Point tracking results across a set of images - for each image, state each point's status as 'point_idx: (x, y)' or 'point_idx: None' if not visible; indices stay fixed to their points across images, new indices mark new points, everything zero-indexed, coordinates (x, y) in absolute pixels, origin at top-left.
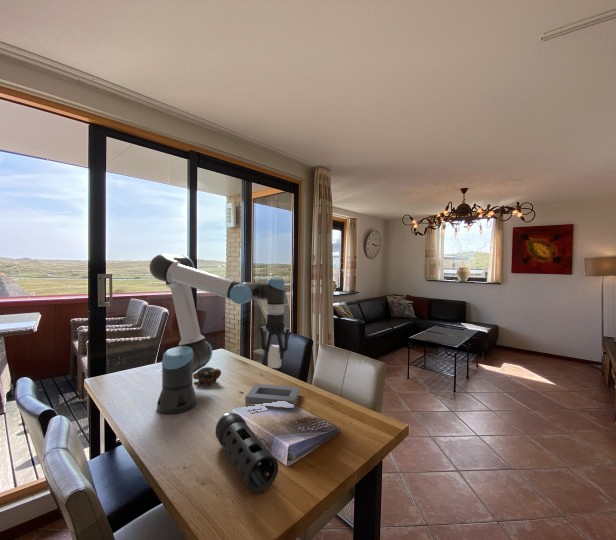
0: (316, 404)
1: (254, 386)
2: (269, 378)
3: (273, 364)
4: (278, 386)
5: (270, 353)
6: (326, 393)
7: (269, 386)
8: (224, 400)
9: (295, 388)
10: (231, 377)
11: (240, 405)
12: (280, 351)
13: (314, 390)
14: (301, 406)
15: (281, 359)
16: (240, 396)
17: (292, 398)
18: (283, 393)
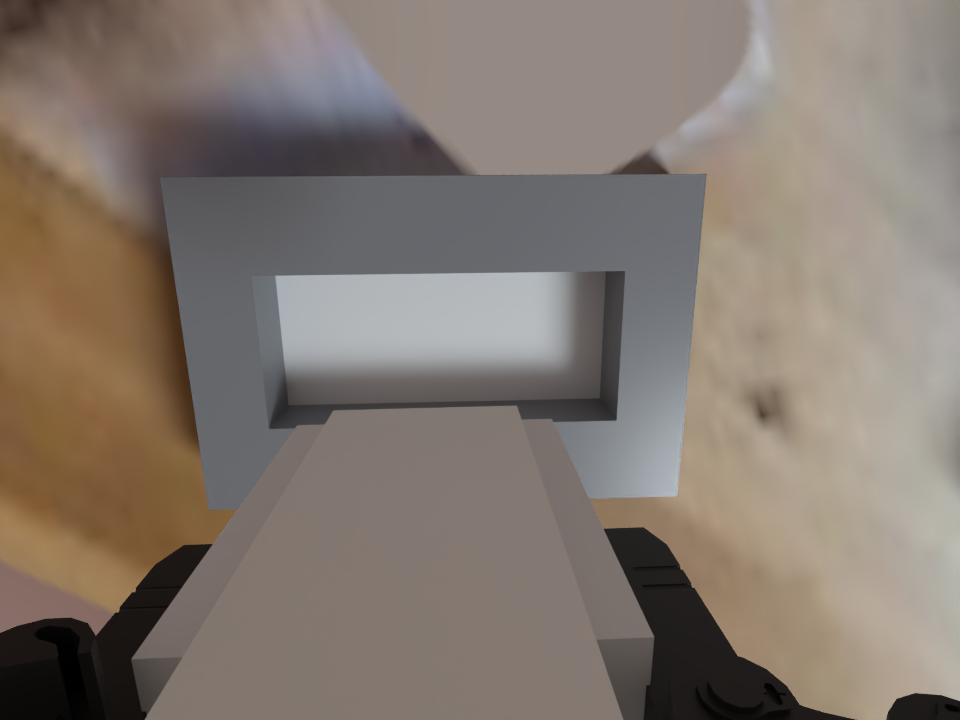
0: (22, 322)
1: (673, 429)
2: None
3: (424, 432)
4: None
5: (531, 589)
6: (5, 550)
7: None
8: (884, 224)
9: (242, 473)
10: (929, 664)
11: (713, 156)
12: (86, 717)
13: (131, 582)
14: (147, 254)
15: (209, 544)
16: (759, 331)
17: (194, 233)
18: None
